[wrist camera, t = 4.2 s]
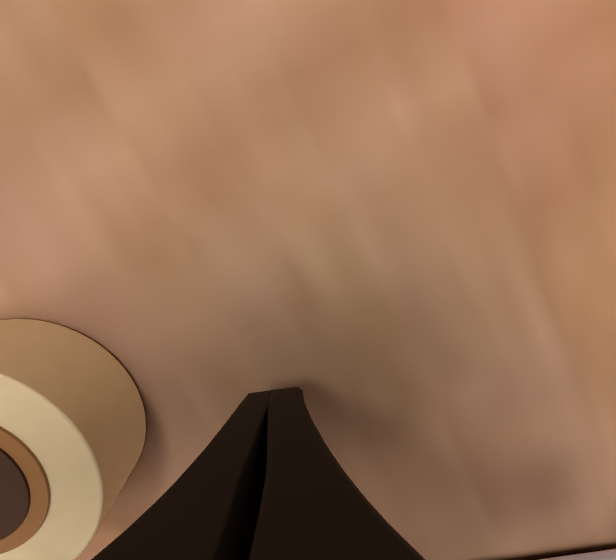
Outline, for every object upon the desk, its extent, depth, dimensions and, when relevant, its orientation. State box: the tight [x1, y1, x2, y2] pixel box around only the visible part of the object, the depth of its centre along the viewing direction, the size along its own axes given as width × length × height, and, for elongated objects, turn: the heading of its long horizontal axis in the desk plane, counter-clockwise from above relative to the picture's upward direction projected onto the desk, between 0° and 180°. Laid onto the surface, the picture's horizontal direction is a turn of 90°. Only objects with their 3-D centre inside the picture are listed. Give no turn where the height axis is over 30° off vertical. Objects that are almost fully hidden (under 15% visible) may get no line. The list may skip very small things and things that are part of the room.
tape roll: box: [0, 319, 146, 560], centre depth 9 cm, size 6×6×3 cm
